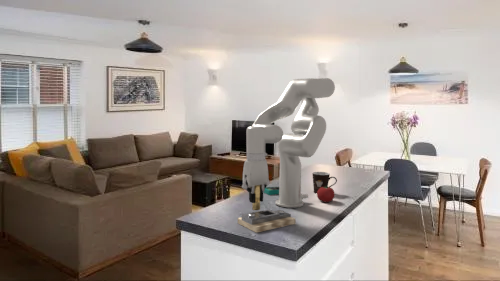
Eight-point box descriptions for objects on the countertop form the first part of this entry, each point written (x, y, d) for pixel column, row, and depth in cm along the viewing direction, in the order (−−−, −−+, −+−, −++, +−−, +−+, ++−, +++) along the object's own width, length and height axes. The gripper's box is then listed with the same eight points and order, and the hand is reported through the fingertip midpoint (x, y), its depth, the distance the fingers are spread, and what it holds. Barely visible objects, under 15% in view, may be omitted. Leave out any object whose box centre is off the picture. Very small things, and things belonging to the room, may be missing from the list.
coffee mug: (308, 192, 190) (308, 173, 189) (318, 189, 196) (319, 171, 195) (327, 196, 181) (327, 176, 180) (337, 194, 187) (338, 174, 186)
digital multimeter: (295, 193, 189) (295, 188, 188) (268, 196, 183) (268, 190, 183) (287, 190, 195) (288, 185, 195) (262, 192, 190) (262, 187, 189)
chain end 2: (279, 212, 147) (279, 208, 147) (290, 216, 142) (290, 212, 142) (253, 217, 140) (253, 213, 140) (263, 222, 135) (263, 218, 135)
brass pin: (257, 207, 154) (257, 183, 153) (261, 209, 151) (261, 185, 150) (250, 208, 152) (250, 184, 151) (255, 210, 150) (255, 186, 148)
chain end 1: (269, 214, 144) (269, 207, 144) (280, 219, 139) (280, 212, 139) (241, 219, 137) (241, 213, 137) (251, 224, 132) (252, 217, 132)
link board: (275, 215, 150) (275, 210, 150) (295, 223, 140) (295, 218, 140) (237, 223, 140) (237, 218, 139) (256, 232, 130) (256, 227, 130)
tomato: (314, 199, 176) (314, 184, 175) (329, 198, 178) (329, 183, 178) (323, 204, 168) (323, 188, 167) (338, 202, 171) (339, 187, 170)
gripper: (266, 153, 157) (266, 196, 159) (233, 157, 148) (234, 203, 150) (277, 156, 151) (277, 200, 153) (244, 160, 141) (244, 207, 144)
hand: (256, 201), depth 151 cm, fingers closed on brass pin, 3 cm apart
